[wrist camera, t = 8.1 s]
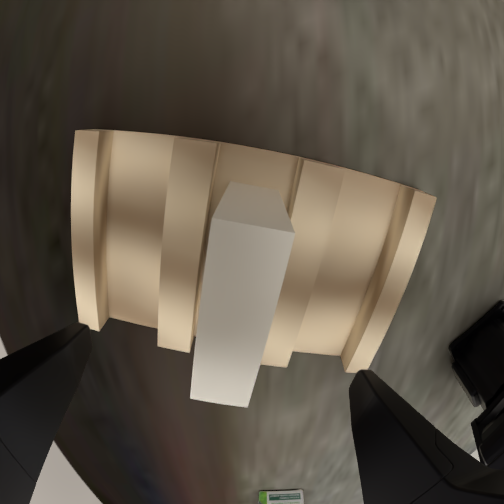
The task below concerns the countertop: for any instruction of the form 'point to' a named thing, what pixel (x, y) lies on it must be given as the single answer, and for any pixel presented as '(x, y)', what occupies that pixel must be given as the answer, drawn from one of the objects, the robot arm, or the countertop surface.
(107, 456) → the countertop surface
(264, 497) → the syrup box
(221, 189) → the slotted rack
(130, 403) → the countertop surface
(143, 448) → the countertop surface
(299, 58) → the countertop surface
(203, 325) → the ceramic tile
